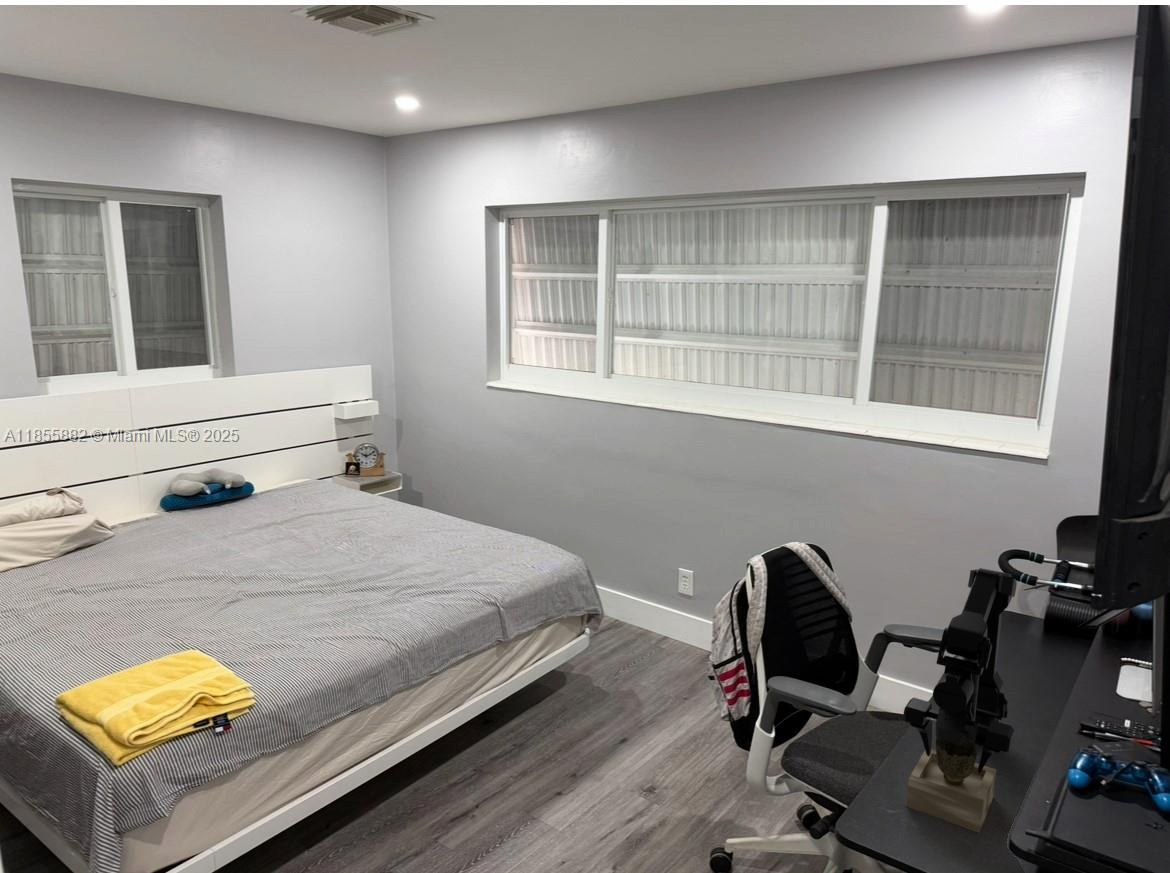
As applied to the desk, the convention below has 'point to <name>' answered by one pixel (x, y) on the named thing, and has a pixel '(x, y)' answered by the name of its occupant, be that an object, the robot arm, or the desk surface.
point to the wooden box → (951, 793)
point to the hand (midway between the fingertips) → (953, 763)
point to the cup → (956, 760)
